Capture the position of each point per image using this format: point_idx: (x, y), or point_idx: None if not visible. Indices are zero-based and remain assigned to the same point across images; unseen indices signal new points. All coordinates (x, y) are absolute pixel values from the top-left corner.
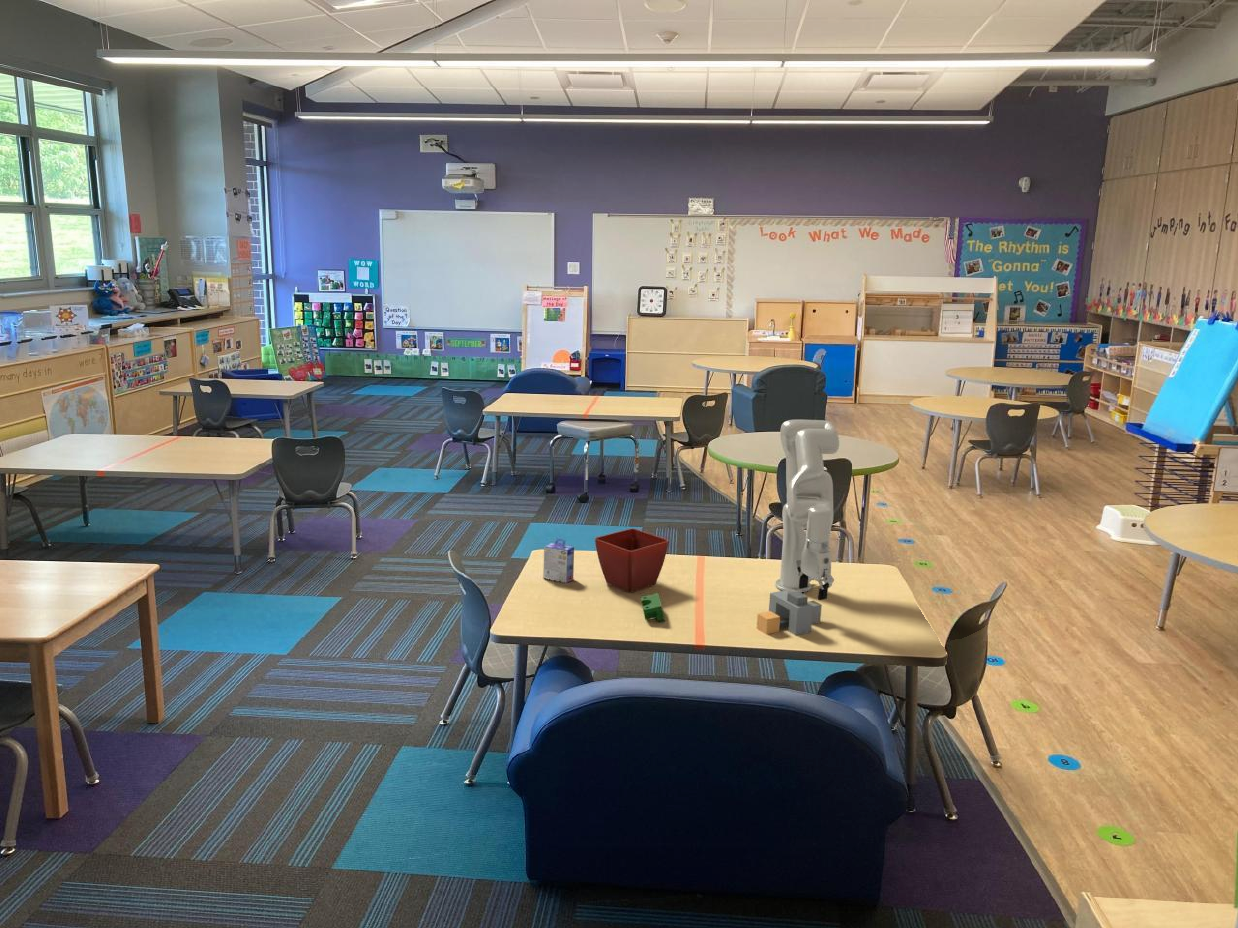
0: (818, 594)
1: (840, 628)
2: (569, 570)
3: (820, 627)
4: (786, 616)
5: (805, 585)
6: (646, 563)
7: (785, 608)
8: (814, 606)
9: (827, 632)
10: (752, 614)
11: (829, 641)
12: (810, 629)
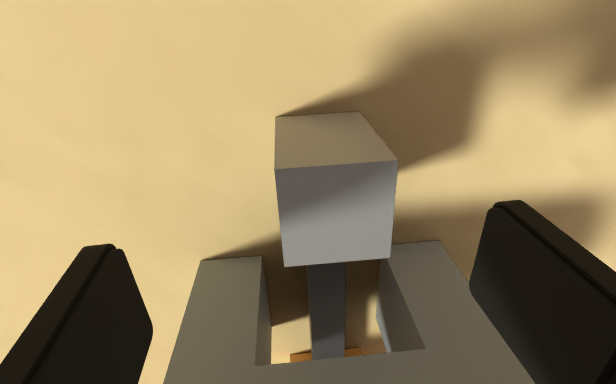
0: (503, 337)
1: (508, 43)
2: None
3: (423, 159)
4: (263, 291)
5: (120, 297)
6: None
7: (263, 343)
8: (390, 233)
9: (496, 163)
10: (145, 363)
11: (573, 218)
12: (444, 250)
